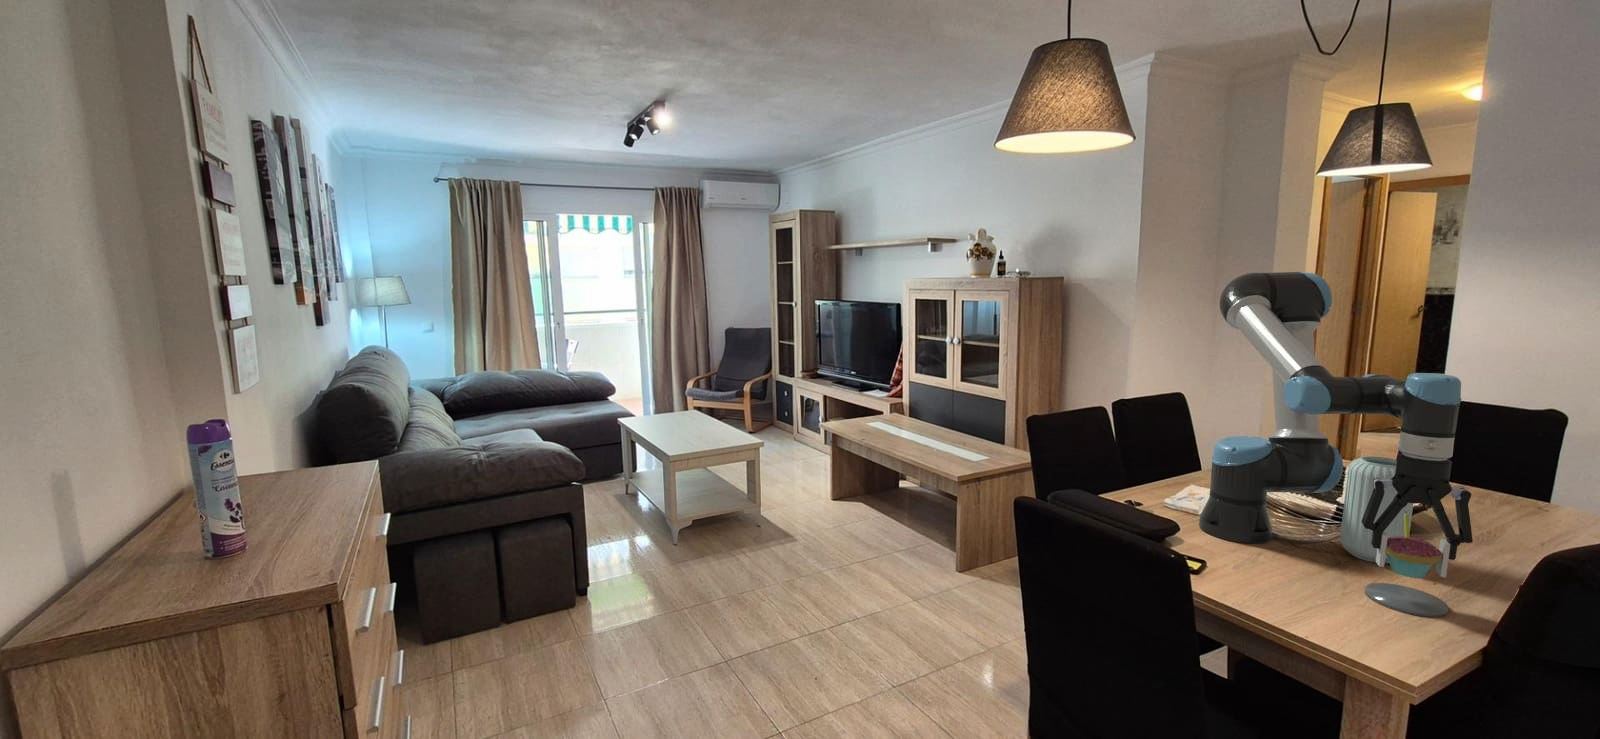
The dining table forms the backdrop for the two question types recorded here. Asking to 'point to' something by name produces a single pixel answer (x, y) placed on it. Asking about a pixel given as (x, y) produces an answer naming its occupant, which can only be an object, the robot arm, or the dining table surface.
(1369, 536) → the vase
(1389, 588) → the coaster
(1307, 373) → the robot arm
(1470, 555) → the dining table surface
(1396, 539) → the cupcake
